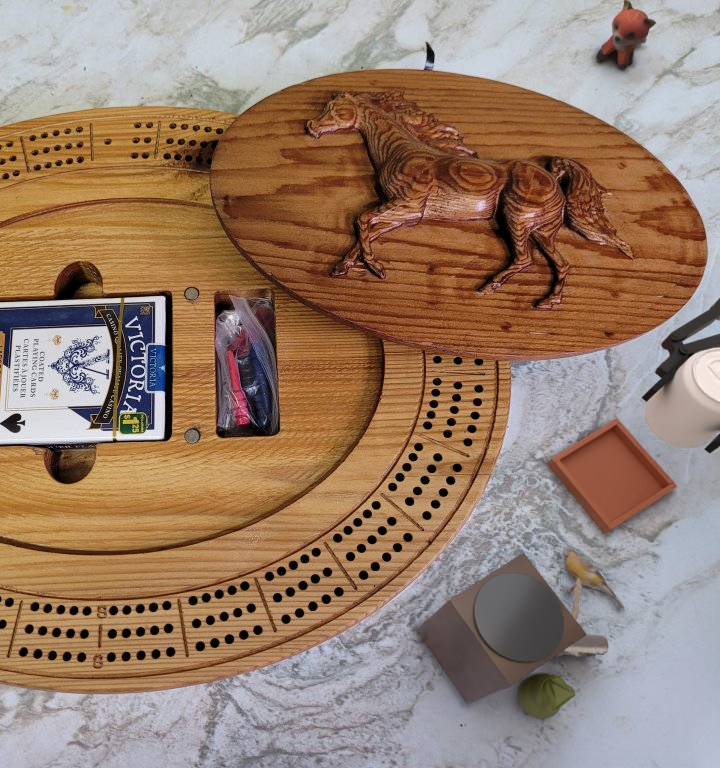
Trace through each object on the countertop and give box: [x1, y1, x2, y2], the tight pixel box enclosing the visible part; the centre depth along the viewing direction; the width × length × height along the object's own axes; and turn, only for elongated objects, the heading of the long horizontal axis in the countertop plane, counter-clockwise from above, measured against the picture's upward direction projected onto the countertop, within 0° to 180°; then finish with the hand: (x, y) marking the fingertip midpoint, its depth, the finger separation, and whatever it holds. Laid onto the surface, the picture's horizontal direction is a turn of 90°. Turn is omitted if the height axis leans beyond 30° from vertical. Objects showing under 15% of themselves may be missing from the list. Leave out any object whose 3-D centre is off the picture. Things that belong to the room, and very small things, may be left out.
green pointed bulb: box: [517, 672, 576, 720], centre depth 105 cm, size 6×5×10 cm
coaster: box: [473, 573, 564, 662], centre depth 94 cm, size 10×10×1 cm
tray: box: [546, 417, 678, 535], centre depth 121 cm, size 13×13×2 cm
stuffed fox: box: [595, 0, 657, 70], centre depth 154 cm, size 8×11×12 cm
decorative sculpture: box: [555, 548, 625, 658], centre depth 110 cm, size 16×10×7 cm, turn 154°
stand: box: [416, 552, 588, 704], centre depth 103 cm, size 11×11×20 cm
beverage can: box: [644, 348, 720, 449], centre depth 96 cm, size 8×8×12 cm
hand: (680, 420), depth 94 cm, fingers closed on beverage can, 8 cm apart
